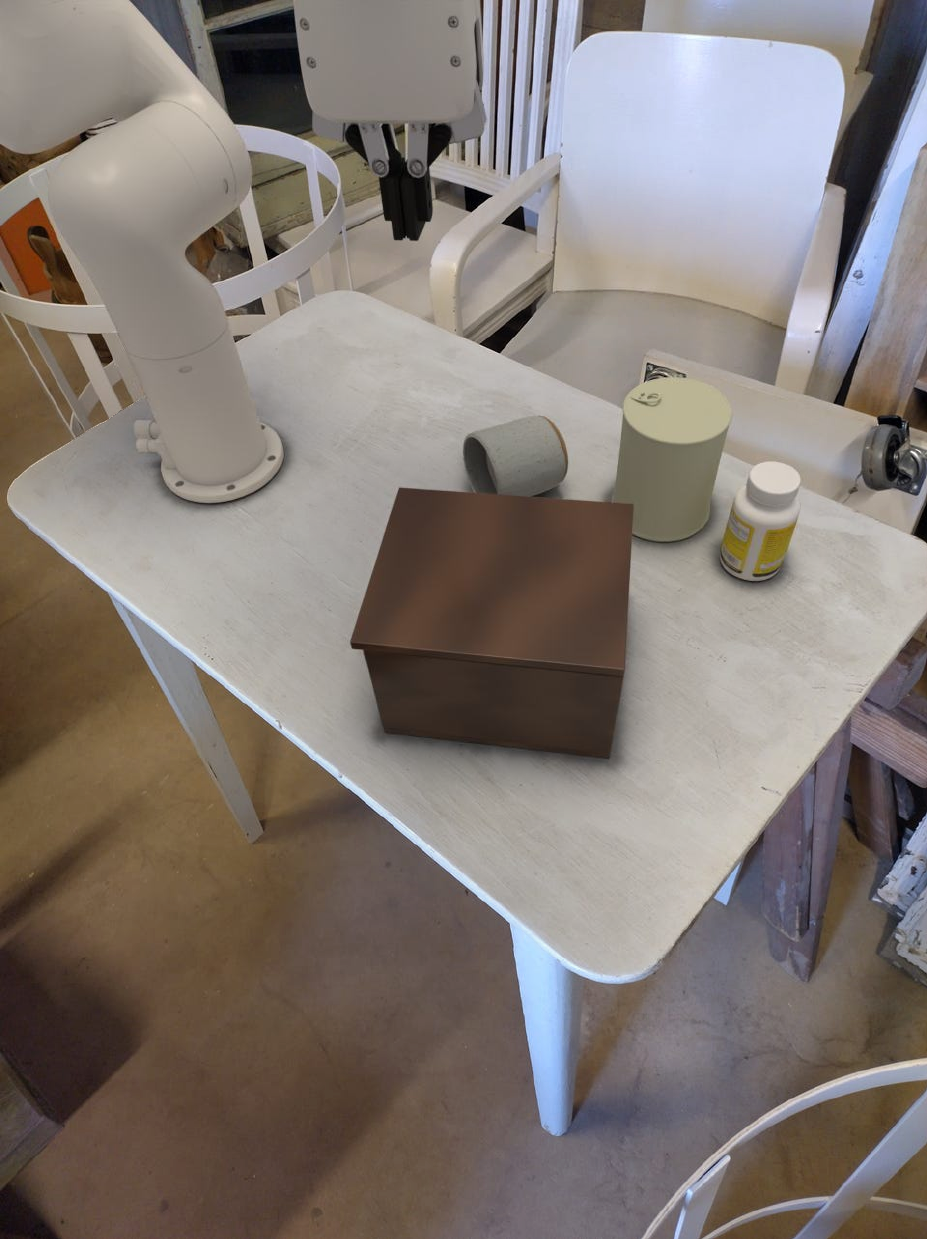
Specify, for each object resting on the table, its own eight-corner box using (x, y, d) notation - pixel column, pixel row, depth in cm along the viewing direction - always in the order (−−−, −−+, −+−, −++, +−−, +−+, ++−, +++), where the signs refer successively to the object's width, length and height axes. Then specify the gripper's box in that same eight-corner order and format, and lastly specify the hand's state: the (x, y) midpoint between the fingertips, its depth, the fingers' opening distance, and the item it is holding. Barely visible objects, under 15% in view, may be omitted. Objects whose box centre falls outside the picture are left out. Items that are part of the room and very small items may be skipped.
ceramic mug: (572, 496, 80) (575, 432, 74) (499, 527, 77) (496, 464, 72) (517, 439, 86) (516, 376, 80) (448, 466, 84) (442, 403, 78)
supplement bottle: (786, 547, 74) (816, 464, 66) (774, 590, 71) (804, 507, 63) (725, 532, 75) (748, 449, 68) (711, 573, 72) (734, 490, 65)
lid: (351, 649, 56) (349, 642, 55) (399, 494, 65) (398, 486, 65) (623, 677, 53) (624, 669, 52) (632, 511, 63) (633, 503, 62)
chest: (383, 732, 64) (362, 650, 56) (422, 584, 74) (409, 495, 65) (609, 759, 61) (623, 677, 53) (619, 601, 71) (632, 511, 63)
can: (634, 465, 82) (648, 361, 73) (723, 493, 79) (749, 388, 69) (595, 522, 77) (604, 419, 68) (688, 555, 74) (711, 451, 65)
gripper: (529, -160, 42) (527, 207, 56) (252, -146, 44) (319, 203, 58) (510, -128, 37) (514, 262, 51) (202, -115, 39) (287, 256, 53)
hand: (410, 230), depth 55 cm, fingers closed
